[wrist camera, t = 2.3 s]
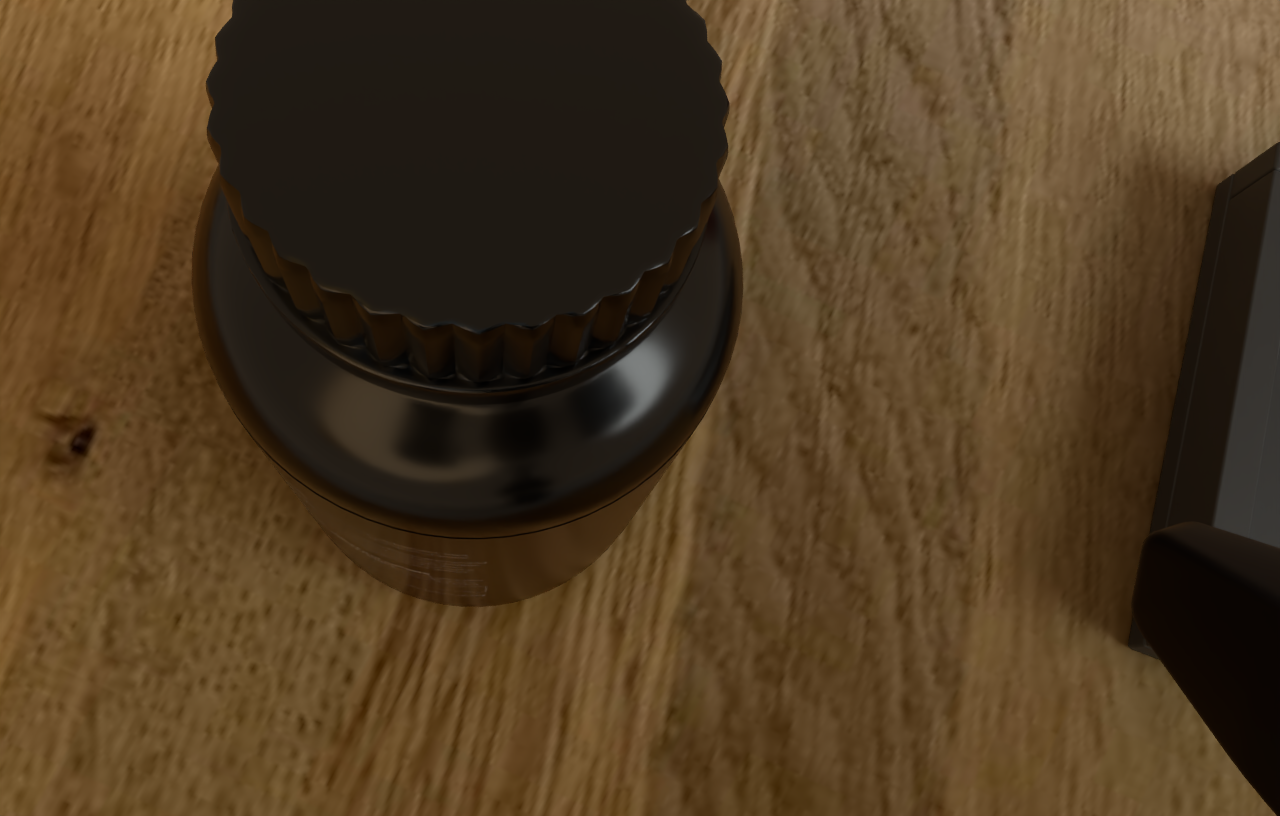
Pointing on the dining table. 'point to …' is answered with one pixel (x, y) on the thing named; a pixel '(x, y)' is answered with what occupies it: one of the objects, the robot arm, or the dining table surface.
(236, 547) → the dining table surface
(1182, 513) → the black tray
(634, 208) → the supplement bottle
